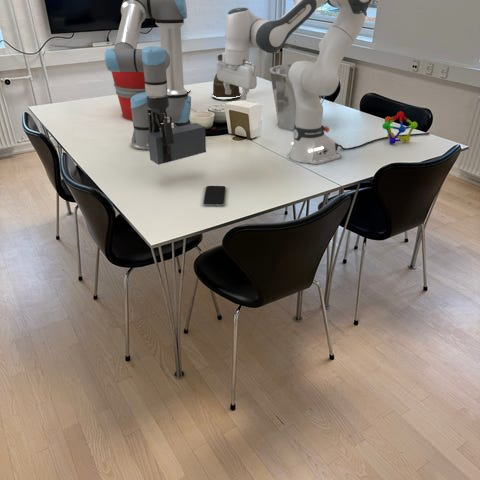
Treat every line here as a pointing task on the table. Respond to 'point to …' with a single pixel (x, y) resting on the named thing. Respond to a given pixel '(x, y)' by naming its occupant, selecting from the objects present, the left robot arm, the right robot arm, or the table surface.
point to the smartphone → (214, 196)
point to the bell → (220, 89)
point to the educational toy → (398, 128)
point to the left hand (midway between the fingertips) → (163, 158)
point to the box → (178, 143)
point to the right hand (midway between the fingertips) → (235, 96)
